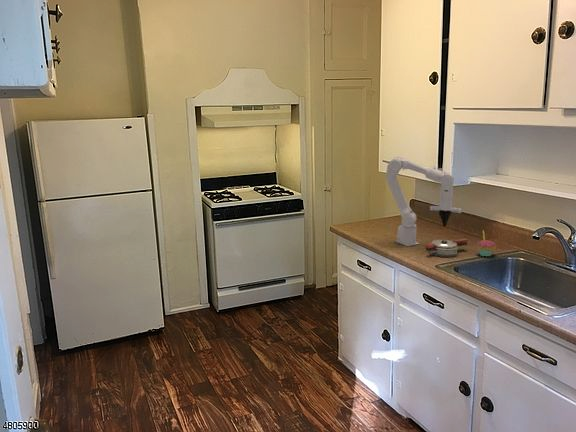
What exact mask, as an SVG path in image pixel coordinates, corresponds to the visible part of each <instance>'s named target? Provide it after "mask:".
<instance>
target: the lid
mask: <svg viewBox="0 0 576 432" xmlns="http://www.w3.org/2000/svg"><path fill="white" fill-rule="evenodd" d="M466 242H467V243H469V239H467V238H460V239H458V238H457V239H454V240H449V239H434V240H432V241H431V242H430V243H427V244H425V248H426V247H427V248H433V247H439V248H454V247H456V246H457V244H459V243H466Z"/></svg>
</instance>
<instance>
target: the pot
mask: <svg viewBox="0 0 576 432" xmlns="http://www.w3.org/2000/svg"><path fill="white" fill-rule="evenodd" d="M467 245H468V242H466V243H459V244H457V246H456V247H454V248H439V247H433V248H427V247H426V246H425V251H427V252H430V255H432V256H435V257H439V258H454V257H456V256H458V249H459V247H462V246H463V247H464V246H467Z"/></svg>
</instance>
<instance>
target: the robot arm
mask: <svg viewBox="0 0 576 432" xmlns="http://www.w3.org/2000/svg"><path fill="white" fill-rule="evenodd" d="M401 170H411V171H414V172H417V173H419V174H422V175H424V176H425V178H426V179H427V180H430V181H433V182H435V183H437V184H440V186H441V187H440V191H439V192H440V193H439V205H430V206H429V211H439V212H438V214H439V217H440V219H441V223H442V227H446V226H448V221H449V219H450V217H451V215H452V213H457V214H462V212H463V211H462V208H459V207H454V206H453V194H454V193H453V192H454V189H453V188H454V183H455V182H454V176H453V175H452V174H451V173H450V172H447V171H445V170H444V171H442V170H440V169H437V167H436V166H430V167H425V166H423V165H421V164H419V163H416V162H414V161H412V160H410V159H408V158H402V157H400V156H395V157H394V158H392V159H391V160H390V161H389V162H388V164H387V166H386V173H385V180H386V183H387V185H388V187H389V189H390V191H391V194H392V195H393V198H394V201H395V202H396V205H397V207H398V210H399V213H400V217H401V224H400V225H399V226H398V228H397V236H396V237H397V239H396V240H395V242H396V243H398V244H401V245H403V246H406V247H410V246H415V245H420V244H421V243H420V242H418V241H417V224H416V221H417V219H418V218H417V217H418V216H417V214H416V213H415V212H414V211H413V210H412V208H411V206H409V203H408V200H407V198H406V196H405V193H404V191H403V189H402V186H401V185H400V183H399V180H398V179H397V177H398V175H399V173H400V171H401Z"/></svg>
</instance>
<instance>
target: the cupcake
mask: <svg viewBox="0 0 576 432" xmlns="http://www.w3.org/2000/svg"><path fill="white" fill-rule="evenodd" d="M475 245H476V249H478V254H479V255H480V256H481V257H484V256H486V257H487V256H489V257H491V256H492V253H493V251H495V250H496V248H497V245H496V243H495V242H494V241H492V240H487V239H486V237H485V231H484V230H482V239H480V240H479V241H477V242H476V243H475ZM487 258H488V257H487Z"/></svg>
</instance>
